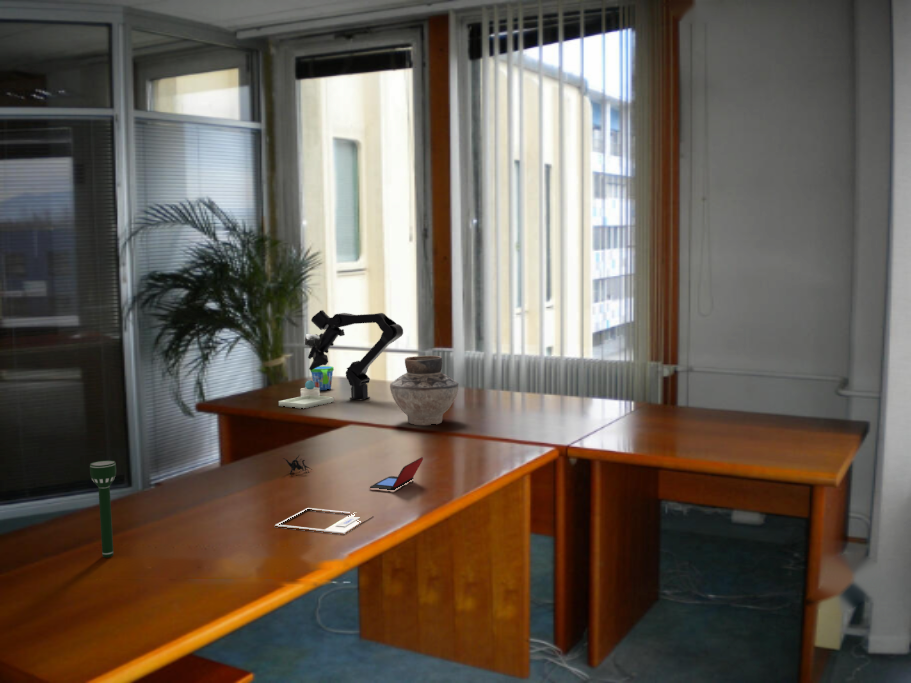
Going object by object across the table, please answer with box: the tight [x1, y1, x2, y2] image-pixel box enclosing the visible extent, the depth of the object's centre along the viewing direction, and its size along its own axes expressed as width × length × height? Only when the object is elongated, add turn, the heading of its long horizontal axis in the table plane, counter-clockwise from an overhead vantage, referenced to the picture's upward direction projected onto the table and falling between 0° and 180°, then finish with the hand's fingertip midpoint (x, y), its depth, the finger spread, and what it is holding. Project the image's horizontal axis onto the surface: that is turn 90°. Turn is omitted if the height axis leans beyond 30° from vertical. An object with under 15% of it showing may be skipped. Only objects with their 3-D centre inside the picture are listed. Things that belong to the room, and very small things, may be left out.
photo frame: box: [274, 507, 361, 535], centre depth 213 cm, size 15×1×18 cm
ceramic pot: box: [389, 355, 460, 426], centre depth 332 cm, size 25×25×24 cm
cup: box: [300, 387, 321, 397], centre depth 392 cm, size 8×8×4 cm
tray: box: [278, 395, 335, 410], centre depth 376 cm, size 14×18×2 cm
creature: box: [282, 454, 313, 476], centre depth 259 cm, size 8×5×8 cm
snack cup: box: [309, 365, 335, 391], centre depth 415 cm, size 16×10×10 cm
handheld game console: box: [369, 456, 424, 490], centre depth 243 cm, size 12×11×7 cm
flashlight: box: [89, 459, 117, 559], centre depth 190 cm, size 5×5×20 cm
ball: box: [304, 380, 315, 389], centre depth 392 cm, size 4×4×4 cm
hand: (309, 363), depth 395 cm, fingers open, 9 cm apart
